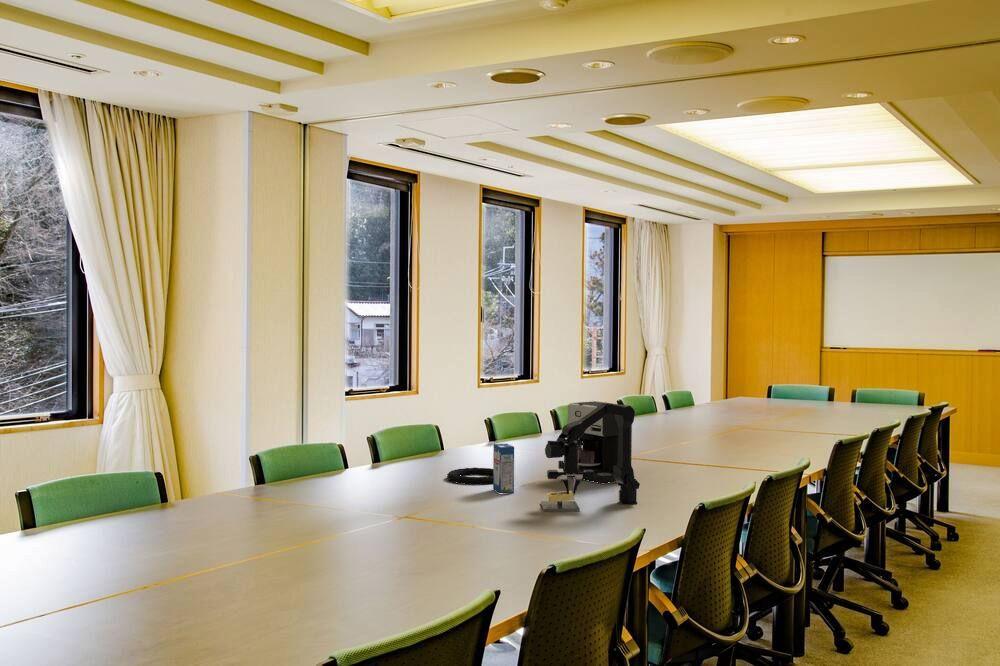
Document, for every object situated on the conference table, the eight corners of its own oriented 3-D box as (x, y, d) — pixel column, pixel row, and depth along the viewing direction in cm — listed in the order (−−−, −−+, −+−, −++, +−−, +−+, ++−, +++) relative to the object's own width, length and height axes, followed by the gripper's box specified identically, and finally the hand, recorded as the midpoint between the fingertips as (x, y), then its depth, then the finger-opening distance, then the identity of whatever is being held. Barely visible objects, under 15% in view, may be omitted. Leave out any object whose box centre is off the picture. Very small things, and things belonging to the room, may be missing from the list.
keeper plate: (575, 503, 349) (575, 488, 348) (579, 511, 335) (579, 496, 334) (540, 503, 348) (540, 488, 348) (543, 511, 334) (543, 496, 334)
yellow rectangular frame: (572, 496, 345) (571, 490, 345) (574, 499, 338) (573, 493, 338) (547, 498, 344) (546, 493, 344) (548, 502, 338) (548, 496, 338)
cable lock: (455, 465, 415) (516, 468, 409) (455, 473, 415) (516, 476, 410) (439, 475, 388) (505, 478, 382) (439, 484, 388) (505, 487, 382)
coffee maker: (560, 475, 412) (561, 401, 411) (590, 471, 423) (591, 399, 423) (601, 484, 389) (602, 407, 388) (631, 479, 401) (632, 404, 400)
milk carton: (513, 493, 368) (514, 446, 367) (500, 494, 366) (500, 447, 365) (506, 488, 377) (507, 443, 377) (493, 489, 375) (493, 443, 375)
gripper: (591, 453, 349) (591, 491, 350) (545, 453, 349) (545, 491, 349) (595, 458, 338) (595, 497, 339) (548, 458, 338) (548, 497, 338)
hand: (570, 496), depth 341 cm, fingers closed on yellow rectangular frame, 2 cm apart
